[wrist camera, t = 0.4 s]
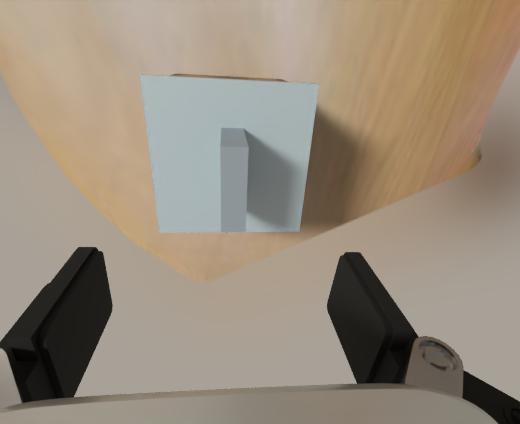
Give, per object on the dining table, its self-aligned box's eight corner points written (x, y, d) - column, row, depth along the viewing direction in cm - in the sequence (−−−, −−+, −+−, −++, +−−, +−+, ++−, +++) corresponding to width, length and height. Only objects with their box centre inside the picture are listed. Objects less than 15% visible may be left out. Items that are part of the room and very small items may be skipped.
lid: (312, 82, 27) (346, 91, 20) (295, 221, 34) (315, 268, 26) (146, 73, 25) (112, 79, 18) (163, 222, 32) (144, 272, 25)
